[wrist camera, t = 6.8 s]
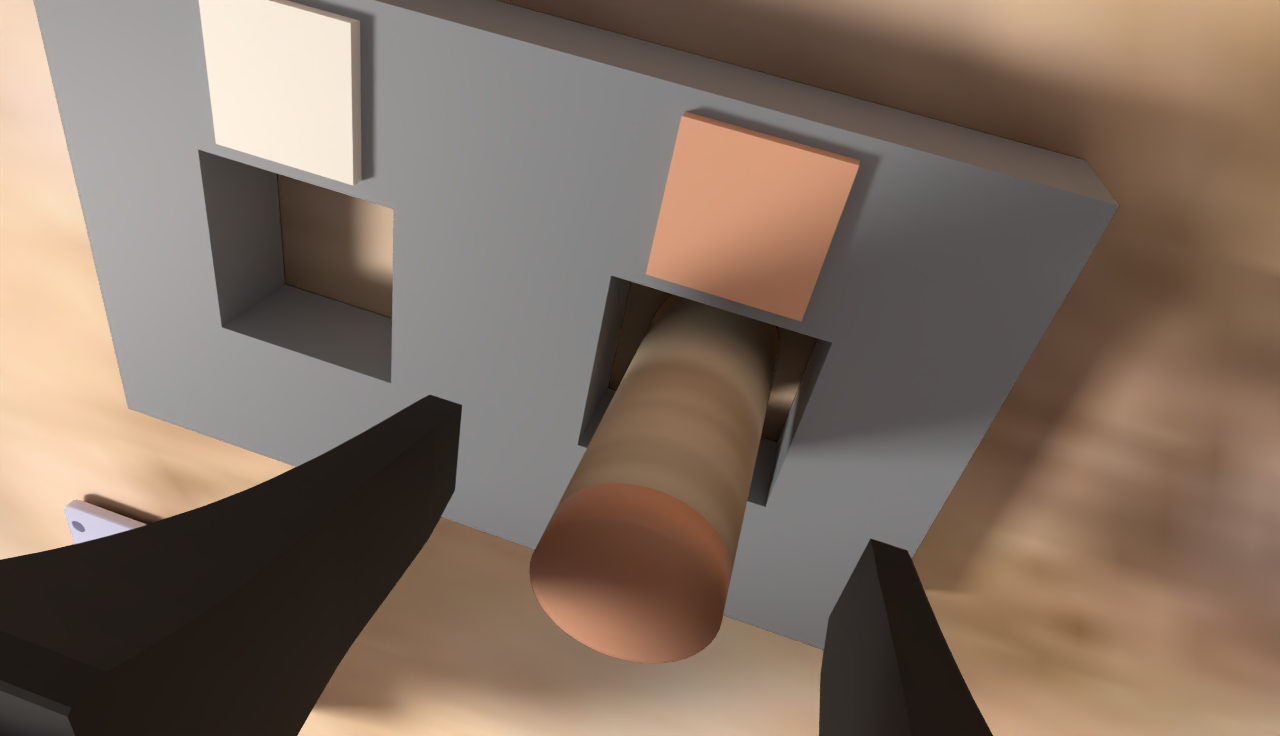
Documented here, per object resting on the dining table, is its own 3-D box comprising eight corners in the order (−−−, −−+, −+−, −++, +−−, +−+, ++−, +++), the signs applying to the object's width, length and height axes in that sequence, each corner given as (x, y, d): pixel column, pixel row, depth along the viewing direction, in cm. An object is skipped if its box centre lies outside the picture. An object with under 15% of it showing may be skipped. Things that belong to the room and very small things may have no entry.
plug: (758, 411, 19) (696, 686, 12) (640, 374, 19) (520, 624, 13) (795, 305, 17) (746, 561, 11) (665, 266, 17) (542, 492, 11)
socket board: (854, 586, 21) (851, 669, 19) (192, 362, 23) (119, 414, 21) (1085, 160, 14) (1124, 212, 12) (116, -103, 16) (-6, -100, 14)
